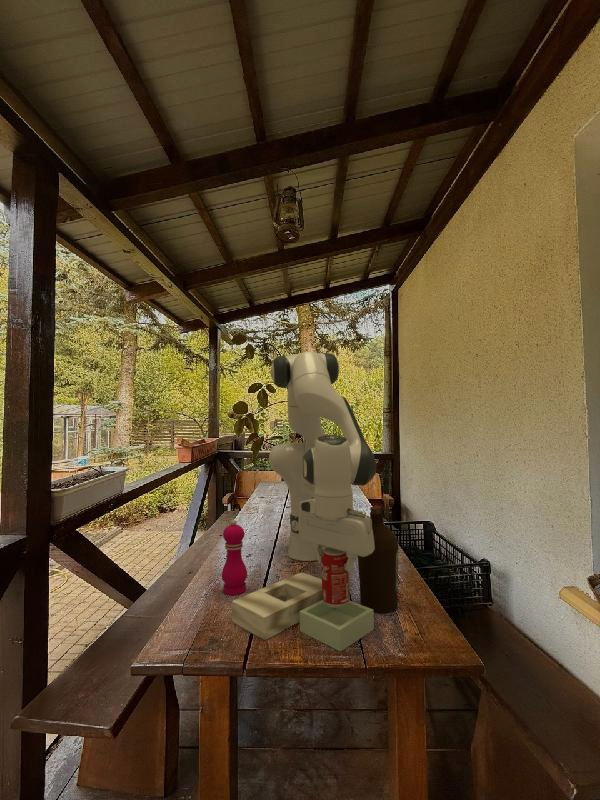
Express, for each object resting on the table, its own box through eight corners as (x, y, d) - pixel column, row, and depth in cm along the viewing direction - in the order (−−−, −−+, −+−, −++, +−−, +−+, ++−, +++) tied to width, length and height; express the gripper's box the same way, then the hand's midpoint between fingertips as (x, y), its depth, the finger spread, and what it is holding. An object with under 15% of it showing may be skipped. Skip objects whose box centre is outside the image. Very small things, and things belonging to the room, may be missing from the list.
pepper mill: (219, 587, 121) (218, 518, 122) (244, 583, 124) (243, 515, 124) (224, 598, 115) (223, 524, 115) (250, 593, 117) (248, 521, 117)
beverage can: (332, 594, 101) (331, 544, 101) (355, 601, 97) (353, 549, 97) (316, 604, 96) (315, 551, 96) (339, 612, 92) (338, 557, 92)
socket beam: (302, 590, 119) (301, 572, 119) (335, 603, 110) (334, 583, 110) (232, 621, 101) (232, 601, 102) (264, 640, 93) (264, 617, 93)
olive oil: (362, 615, 103) (360, 513, 104) (354, 596, 114) (352, 503, 114) (405, 613, 104) (402, 511, 104) (393, 594, 114) (391, 502, 115)
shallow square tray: (333, 612, 105) (333, 594, 105) (373, 629, 97) (373, 609, 97) (299, 631, 97) (299, 611, 97) (340, 651, 88) (340, 629, 88)
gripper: (379, 510, 92) (381, 574, 92) (311, 498, 107) (312, 553, 106) (362, 516, 88) (363, 583, 87) (293, 502, 102) (294, 559, 102)
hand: (335, 566), depth 97 cm, fingers closed on beverage can, 6 cm apart
